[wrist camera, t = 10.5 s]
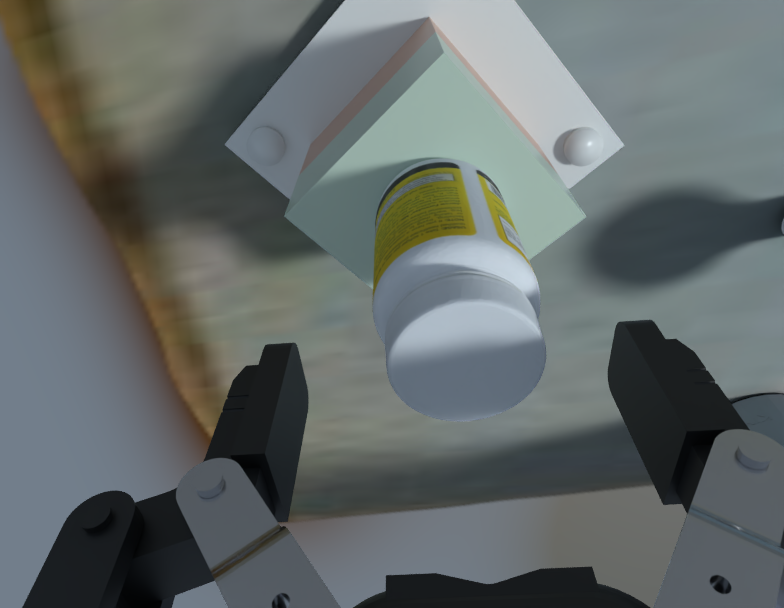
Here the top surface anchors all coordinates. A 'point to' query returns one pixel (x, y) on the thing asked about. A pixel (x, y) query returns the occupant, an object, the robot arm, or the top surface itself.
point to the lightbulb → (782, 226)
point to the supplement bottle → (454, 294)
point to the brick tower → (423, 119)
